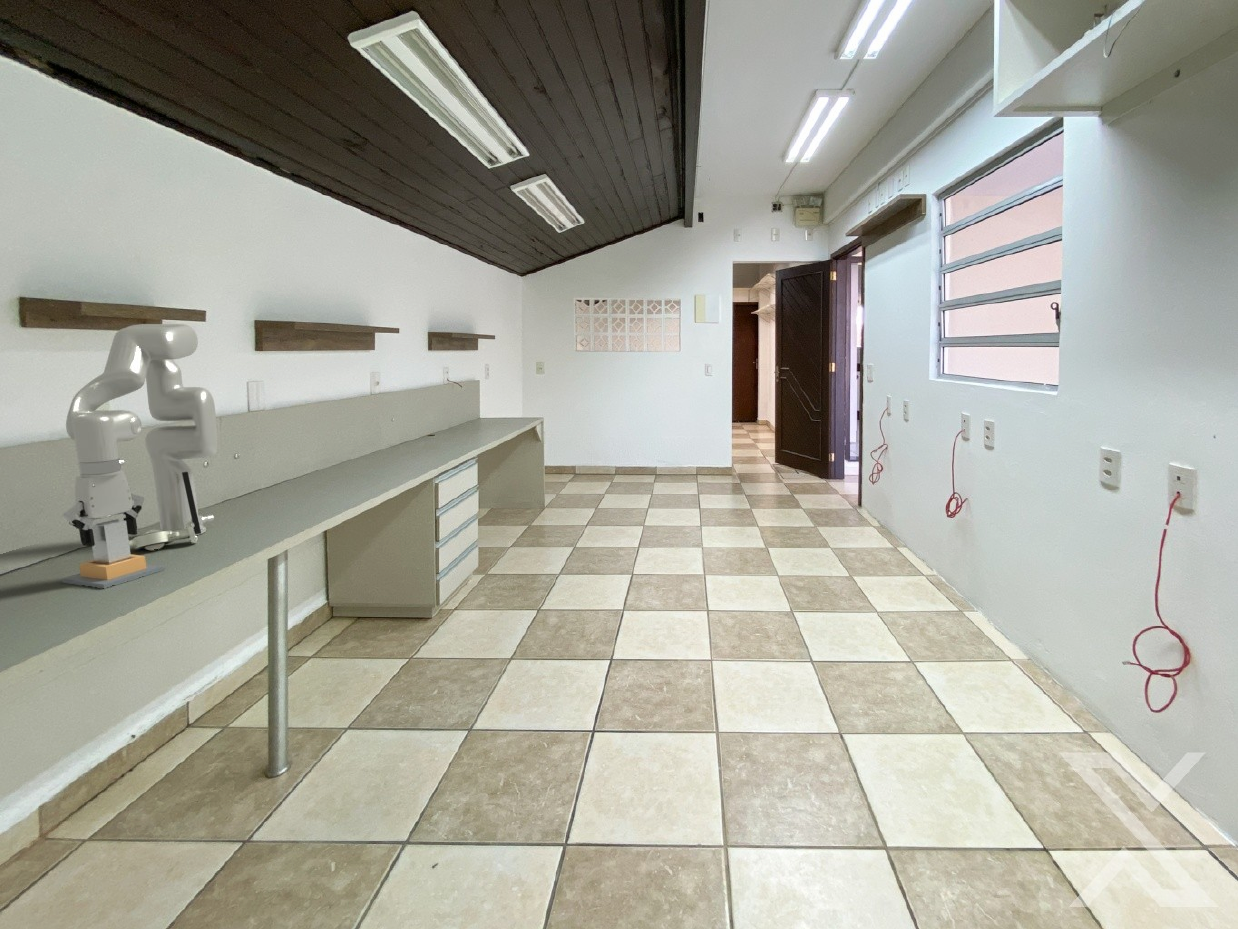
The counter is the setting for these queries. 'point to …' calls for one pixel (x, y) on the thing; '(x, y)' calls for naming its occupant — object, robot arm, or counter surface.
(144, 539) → the butterfly valve
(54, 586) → the counter surface
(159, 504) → the robot arm
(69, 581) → the collar plate
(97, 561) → the block
